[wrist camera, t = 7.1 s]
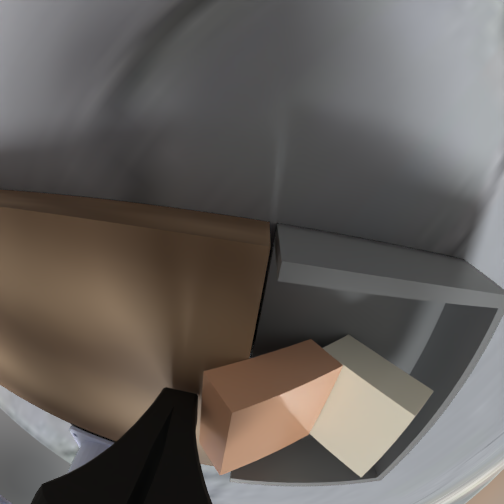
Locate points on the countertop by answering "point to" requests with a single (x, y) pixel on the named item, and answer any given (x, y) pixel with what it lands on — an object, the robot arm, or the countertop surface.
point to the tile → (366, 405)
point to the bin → (371, 331)
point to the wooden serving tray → (121, 303)
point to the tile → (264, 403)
